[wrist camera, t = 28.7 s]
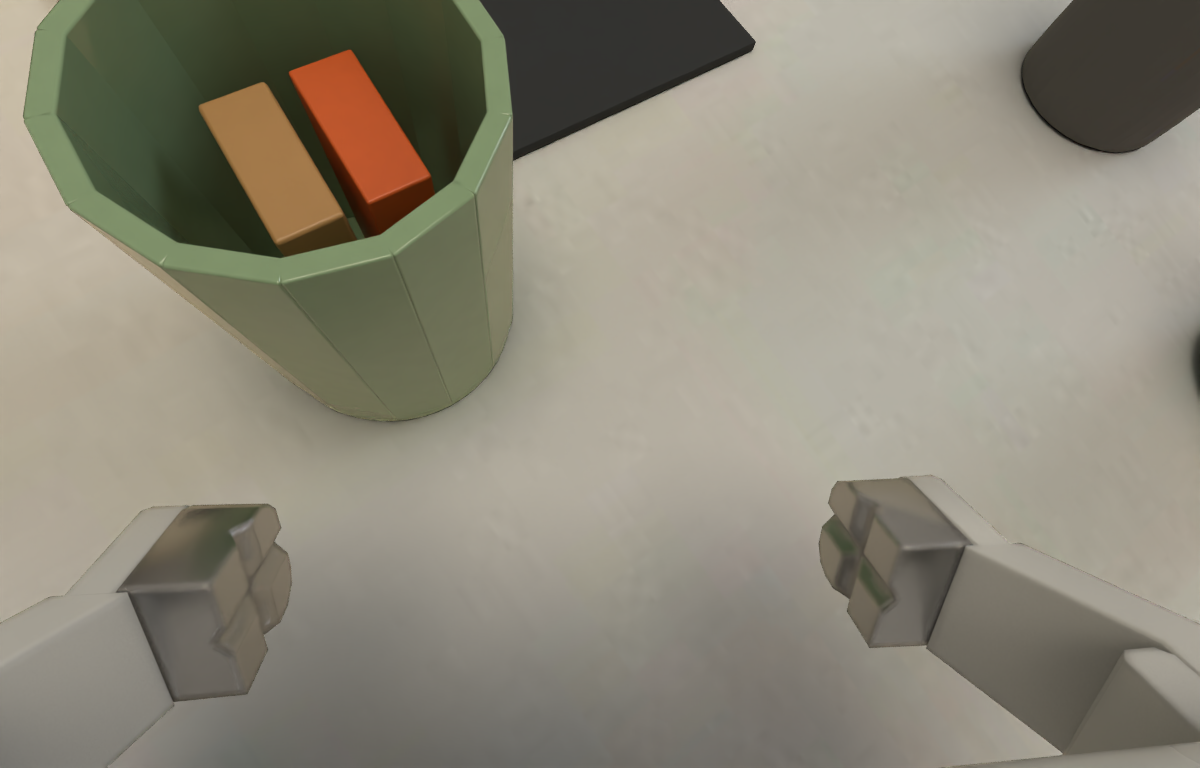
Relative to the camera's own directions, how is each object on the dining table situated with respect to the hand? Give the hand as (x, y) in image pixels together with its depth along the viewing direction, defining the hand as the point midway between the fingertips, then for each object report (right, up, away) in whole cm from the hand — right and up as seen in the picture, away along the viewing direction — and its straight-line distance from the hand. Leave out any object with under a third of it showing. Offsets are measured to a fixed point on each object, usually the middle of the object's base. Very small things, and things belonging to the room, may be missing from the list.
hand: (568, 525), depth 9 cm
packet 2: (-5, +5, +8) cm, 11 cm away
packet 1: (-6, +4, +8) cm, 11 cm away
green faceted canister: (-5, +4, +8) cm, 11 cm away
